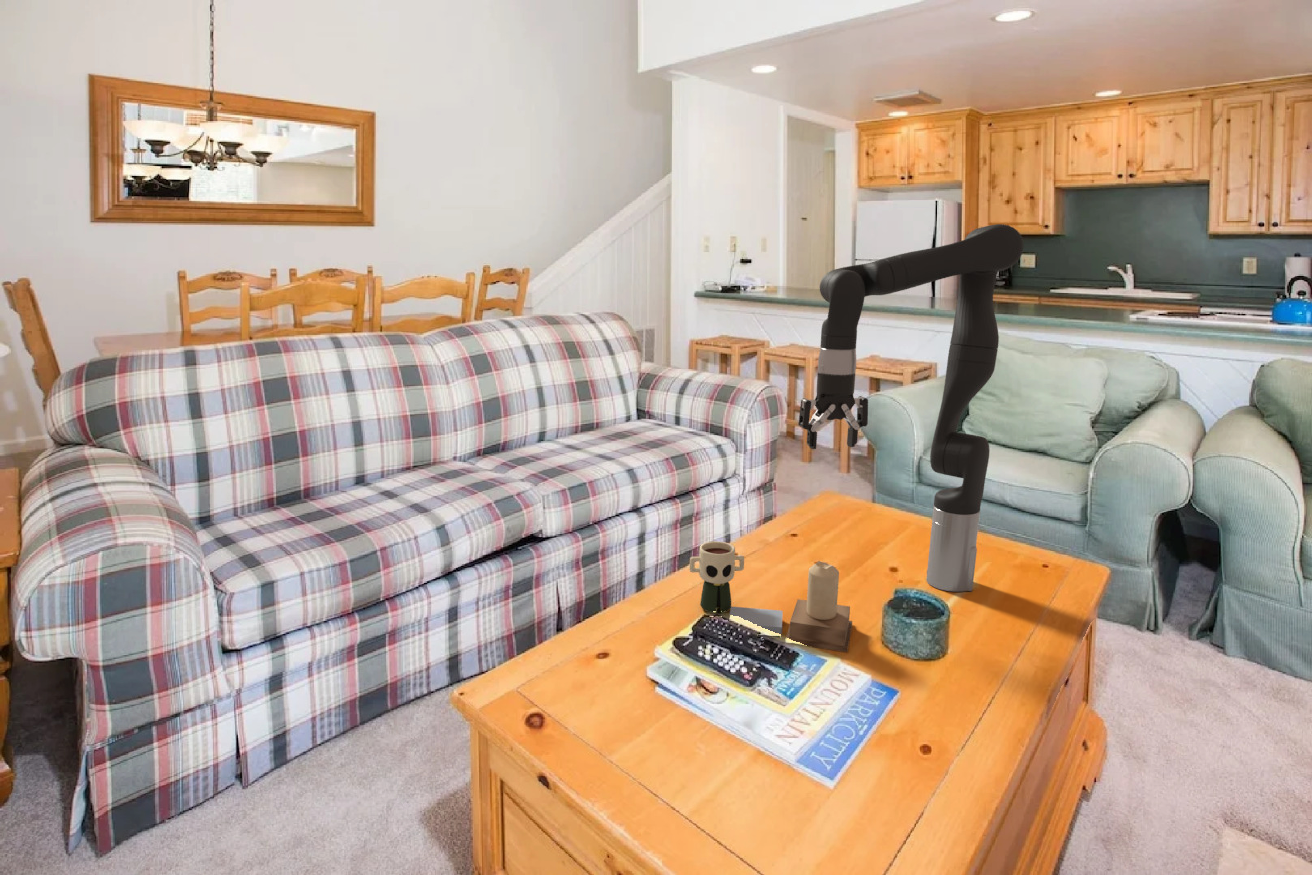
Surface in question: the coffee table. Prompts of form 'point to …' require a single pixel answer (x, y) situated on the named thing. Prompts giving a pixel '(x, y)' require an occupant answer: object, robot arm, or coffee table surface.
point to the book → (760, 617)
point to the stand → (820, 628)
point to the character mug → (716, 573)
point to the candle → (822, 591)
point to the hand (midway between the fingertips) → (831, 447)
